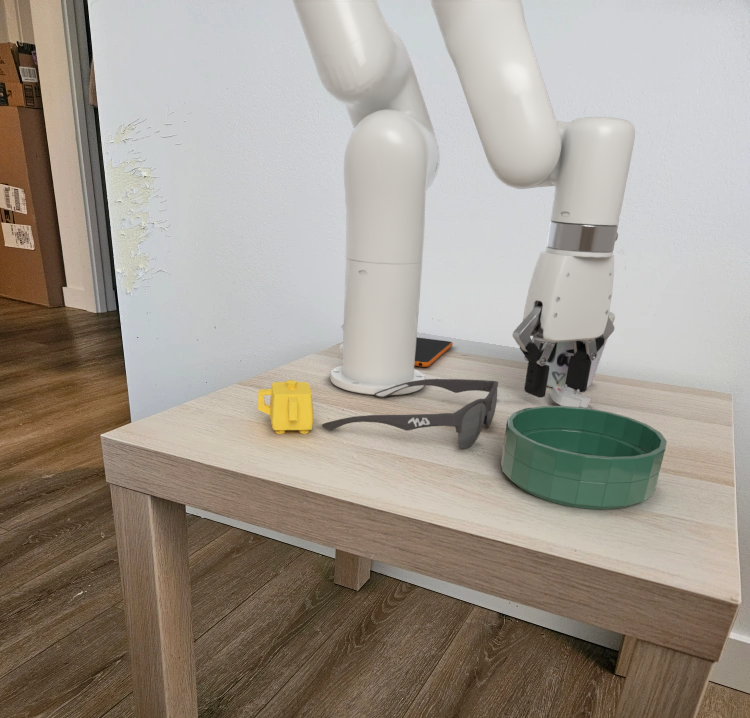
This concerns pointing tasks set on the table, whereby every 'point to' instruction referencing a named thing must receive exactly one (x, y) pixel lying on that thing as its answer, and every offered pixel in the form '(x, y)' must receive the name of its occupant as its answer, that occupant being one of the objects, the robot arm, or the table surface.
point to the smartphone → (429, 350)
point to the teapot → (288, 406)
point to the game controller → (568, 396)
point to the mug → (561, 358)
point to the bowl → (582, 456)
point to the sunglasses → (463, 419)
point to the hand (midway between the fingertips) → (555, 390)
